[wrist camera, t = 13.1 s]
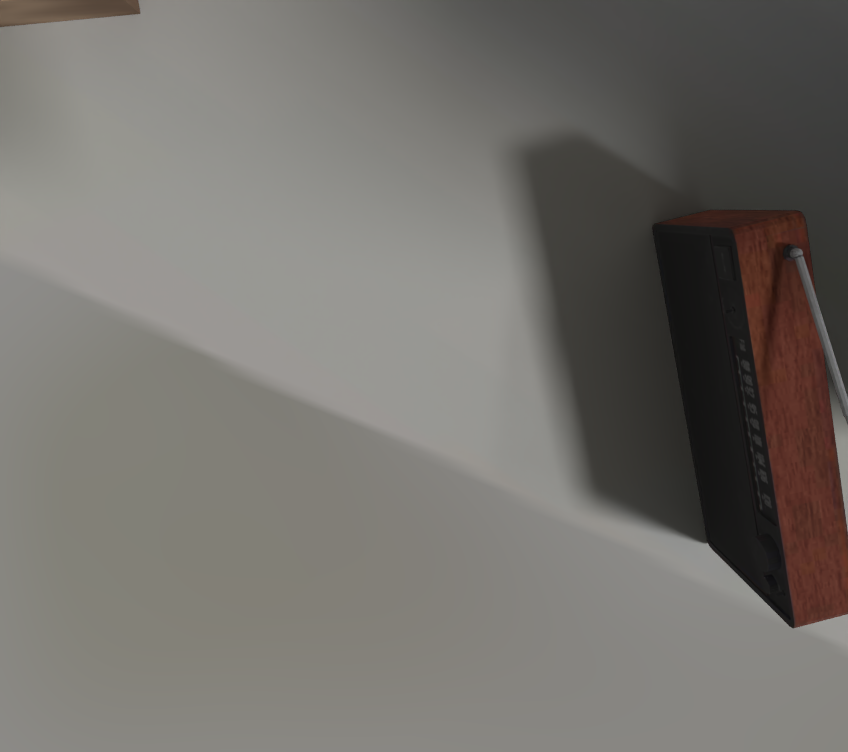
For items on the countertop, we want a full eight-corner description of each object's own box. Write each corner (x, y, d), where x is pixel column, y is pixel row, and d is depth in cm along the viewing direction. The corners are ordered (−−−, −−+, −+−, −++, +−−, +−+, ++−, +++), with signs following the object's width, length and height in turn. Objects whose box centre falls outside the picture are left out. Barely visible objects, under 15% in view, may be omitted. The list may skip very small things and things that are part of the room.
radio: (642, 225, 37) (824, 237, 22) (705, 209, 37) (928, 211, 22) (706, 581, 41) (895, 791, 26) (763, 567, 41) (983, 767, 26)
